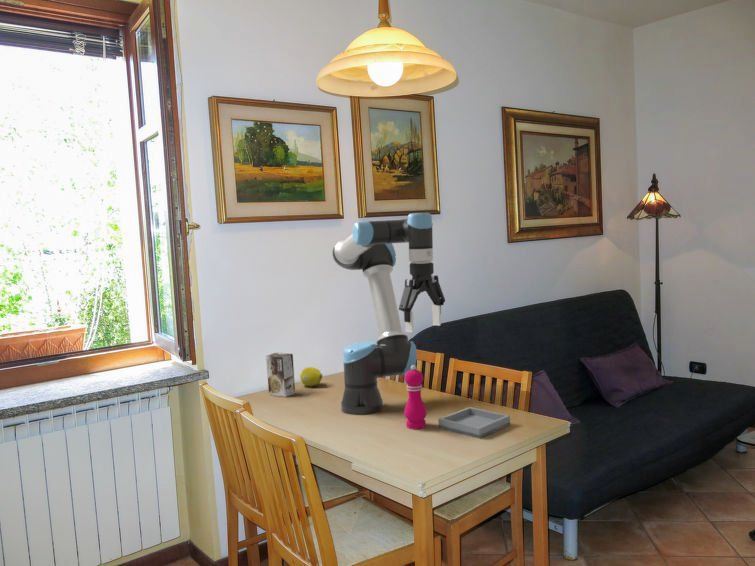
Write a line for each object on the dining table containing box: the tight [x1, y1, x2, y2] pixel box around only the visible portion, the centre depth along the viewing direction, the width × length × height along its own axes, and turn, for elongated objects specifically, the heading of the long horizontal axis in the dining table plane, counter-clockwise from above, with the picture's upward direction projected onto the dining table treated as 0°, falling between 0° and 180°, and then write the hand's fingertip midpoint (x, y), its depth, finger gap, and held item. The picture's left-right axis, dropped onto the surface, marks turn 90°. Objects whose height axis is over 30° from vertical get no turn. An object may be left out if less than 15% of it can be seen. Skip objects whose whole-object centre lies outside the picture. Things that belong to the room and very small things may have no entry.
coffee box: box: [265, 352, 296, 398], centre depth 248 cm, size 9×6×16 cm
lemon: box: [299, 366, 323, 387], centre depth 259 cm, size 11×8×8 cm
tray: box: [438, 406, 511, 439], centre depth 197 cm, size 16×16×3 cm
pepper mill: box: [403, 365, 428, 430], centre depth 200 cm, size 7×7×20 cm
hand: (423, 328), depth 198 cm, fingers open, 13 cm apart
